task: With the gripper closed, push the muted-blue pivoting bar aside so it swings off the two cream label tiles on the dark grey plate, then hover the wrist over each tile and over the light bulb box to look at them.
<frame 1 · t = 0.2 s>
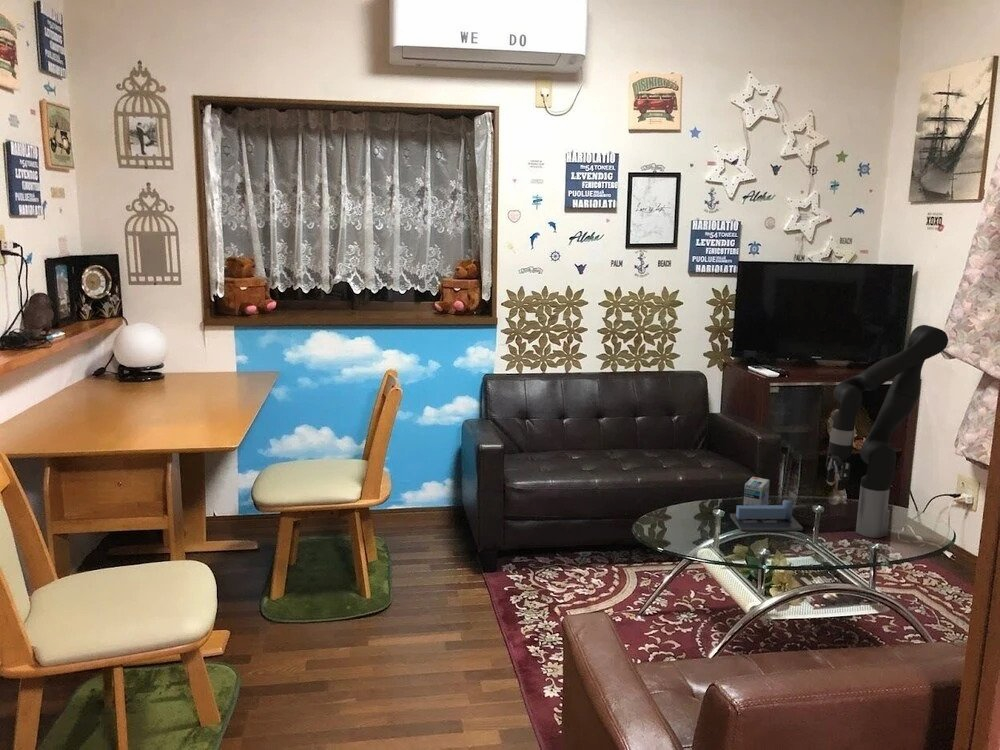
hand: (835, 485, 276), 17 cm above the table, tool pointing down, fingers open, 8 cm apart
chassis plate: (765, 523, 288), on the table
light bulb box: (755, 509, 302), on the table
swing arm: (764, 509, 288), point 5 cm above the table, hinge at 0.0°
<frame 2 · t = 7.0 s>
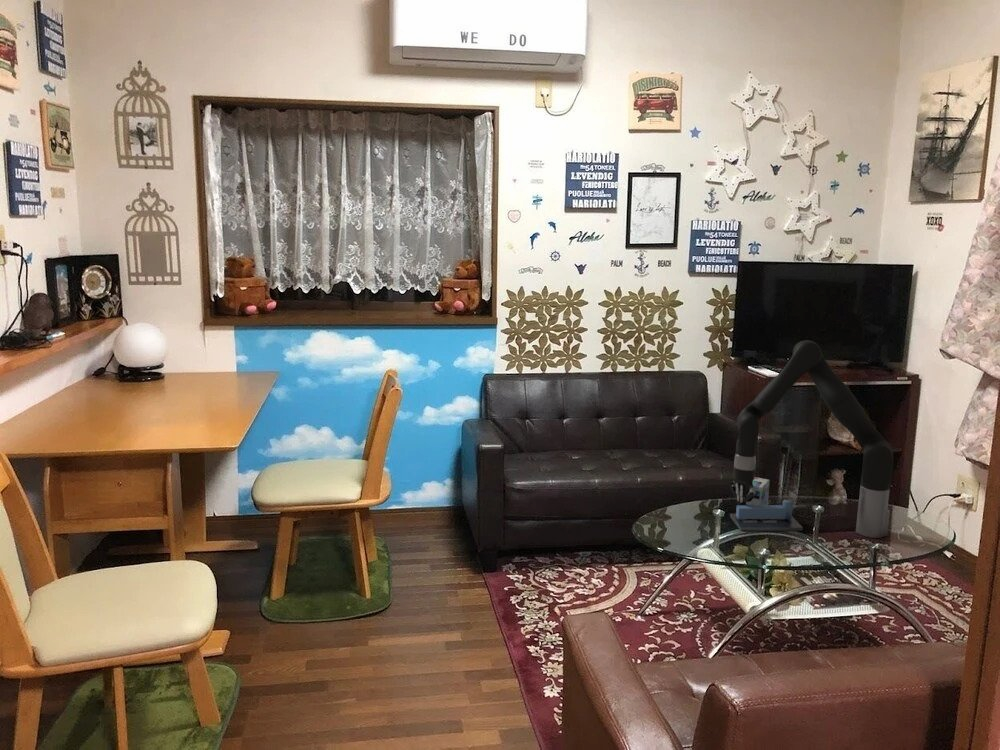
hand: (741, 510, 293), 3 cm above the table, tool pointing down, fingers closed
swing arm: (764, 509, 288), point 5 cm above the table, hinge at 0.2°, touching gripper
everything else where it was.
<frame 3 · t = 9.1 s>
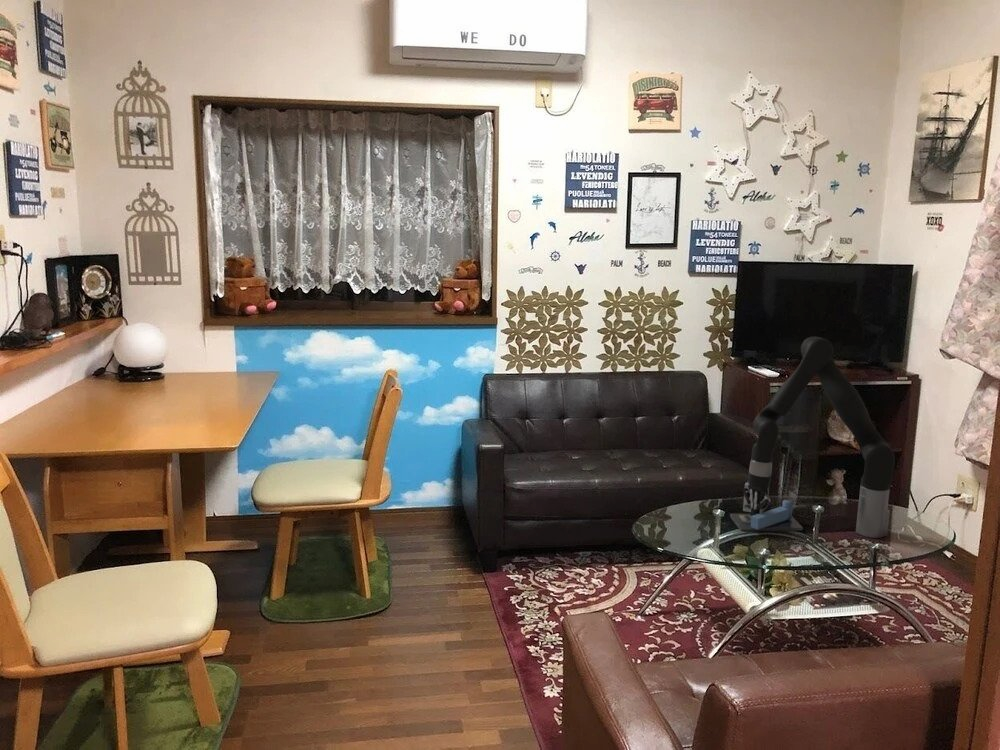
hand: (754, 518, 285), 3 cm above the table, tool pointing down, fingers closed
swing arm: (772, 514, 284), point 5 cm above the table, hinge at 33.4°, touching gripper
everything else where it was.
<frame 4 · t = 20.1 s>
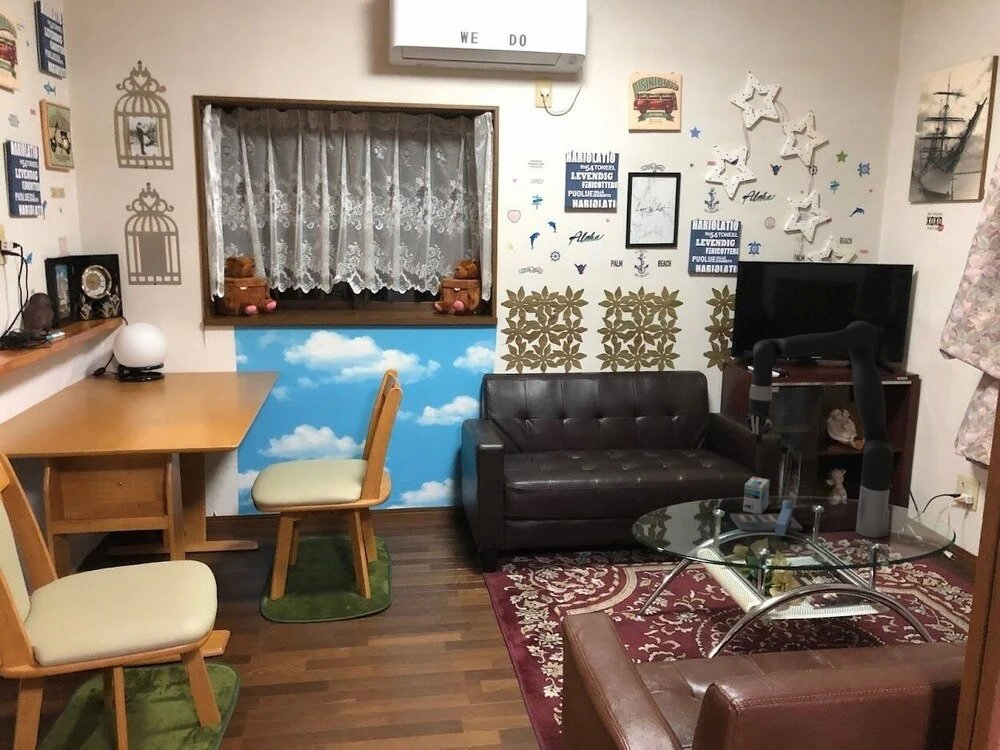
hand: (757, 443, 285), 29 cm above the table, tool pointing down, fingers closed
swing arm: (784, 517, 281), point 5 cm above the table, hinge at 62.9°
everything else where it was.
at the end: swing arm at +63° (first picture: +0°); light bulb box moved 0.3 cm from its start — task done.
